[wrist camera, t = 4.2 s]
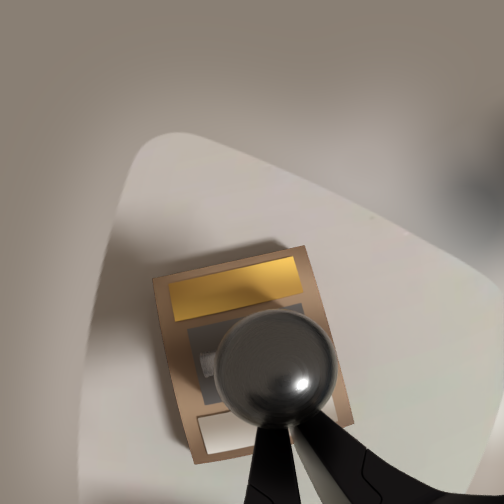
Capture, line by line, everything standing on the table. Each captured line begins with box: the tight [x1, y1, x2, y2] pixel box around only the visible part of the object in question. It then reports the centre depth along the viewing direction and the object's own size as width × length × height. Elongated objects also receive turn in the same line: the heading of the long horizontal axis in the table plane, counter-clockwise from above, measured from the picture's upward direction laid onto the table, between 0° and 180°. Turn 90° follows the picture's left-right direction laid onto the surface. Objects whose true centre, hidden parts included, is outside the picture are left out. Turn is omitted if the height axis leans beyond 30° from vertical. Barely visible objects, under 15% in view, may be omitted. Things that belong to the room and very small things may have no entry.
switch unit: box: [152, 245, 354, 464], centre depth 17 cm, size 12×10×5 cm
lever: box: [200, 309, 338, 429], centre depth 10 cm, size 3×5×9 cm, turn 104°
